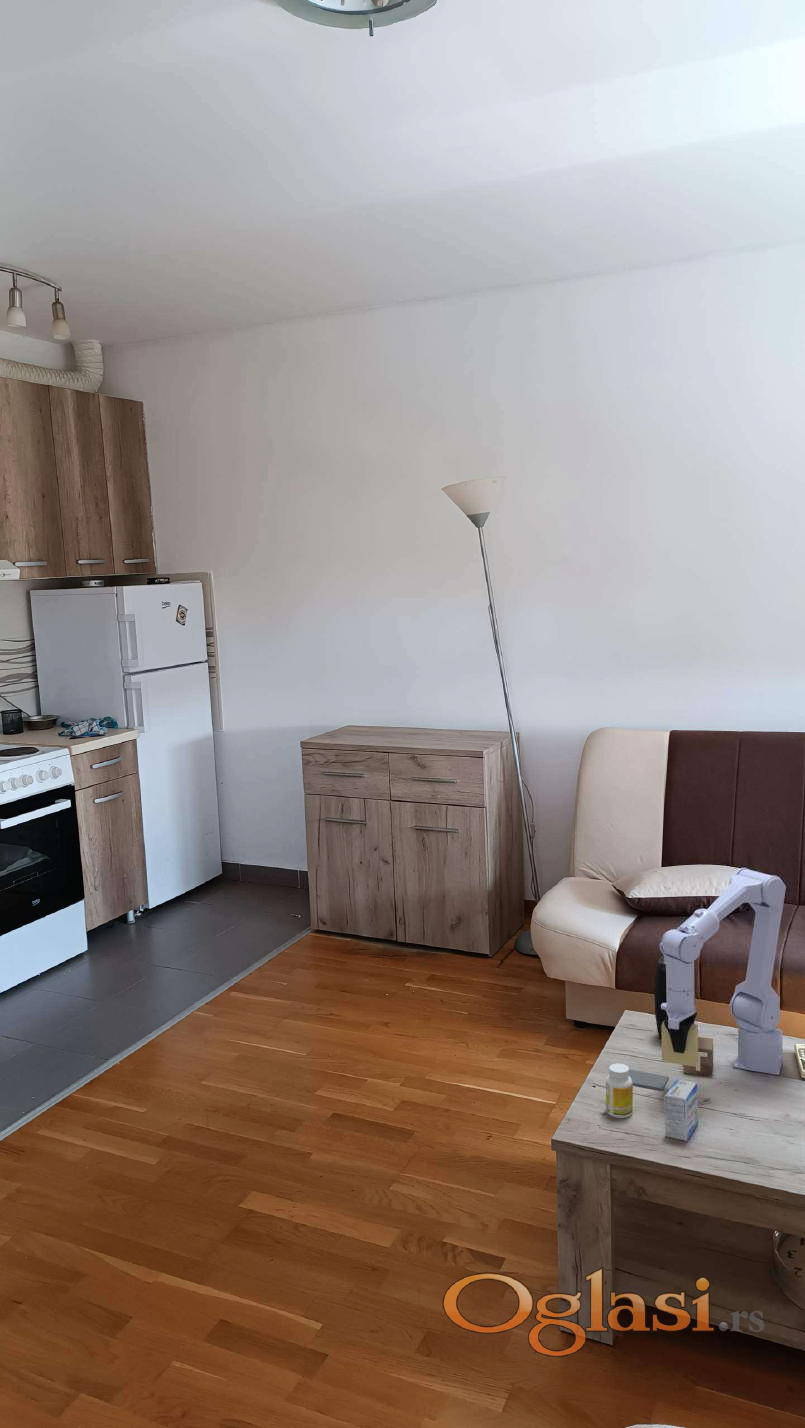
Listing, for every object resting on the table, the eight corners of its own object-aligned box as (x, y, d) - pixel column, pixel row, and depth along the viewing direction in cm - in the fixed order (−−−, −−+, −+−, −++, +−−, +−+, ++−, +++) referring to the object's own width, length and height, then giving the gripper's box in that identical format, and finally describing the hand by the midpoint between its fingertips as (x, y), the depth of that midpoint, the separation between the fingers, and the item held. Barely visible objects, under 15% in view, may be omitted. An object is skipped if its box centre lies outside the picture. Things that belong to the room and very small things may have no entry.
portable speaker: (656, 1030, 241) (655, 952, 239) (696, 1034, 238) (695, 956, 236) (653, 1044, 233) (652, 965, 231) (694, 1049, 230) (694, 968, 228)
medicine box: (687, 1142, 190) (686, 1099, 189) (664, 1136, 193) (664, 1094, 192) (698, 1124, 197) (698, 1082, 196) (676, 1118, 199) (675, 1077, 198)
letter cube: (713, 1064, 222) (713, 1038, 221) (712, 1076, 216) (712, 1050, 216) (685, 1061, 224) (685, 1035, 223) (684, 1073, 218) (683, 1047, 218)
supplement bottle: (600, 1112, 203) (600, 1067, 202) (617, 1103, 206) (616, 1059, 205) (621, 1121, 199) (621, 1076, 198) (638, 1112, 202) (637, 1067, 201)
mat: (668, 1078, 216) (668, 1076, 216) (662, 1090, 211) (662, 1088, 211) (628, 1071, 220) (628, 1069, 220) (621, 1083, 215) (621, 1080, 215)
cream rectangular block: (698, 1060, 210) (697, 1024, 209) (695, 1066, 207) (695, 1030, 206) (664, 1055, 213) (664, 1019, 212) (661, 1061, 210) (661, 1025, 209)
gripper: (668, 973, 216) (669, 1032, 218) (653, 996, 204) (654, 1059, 205) (701, 977, 213) (702, 1037, 214) (688, 1001, 200) (688, 1065, 202)
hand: (680, 1048), depth 209 cm, fingers closed on cream rectangular block, 3 cm apart
